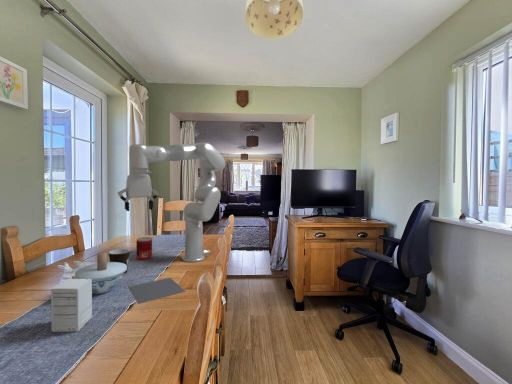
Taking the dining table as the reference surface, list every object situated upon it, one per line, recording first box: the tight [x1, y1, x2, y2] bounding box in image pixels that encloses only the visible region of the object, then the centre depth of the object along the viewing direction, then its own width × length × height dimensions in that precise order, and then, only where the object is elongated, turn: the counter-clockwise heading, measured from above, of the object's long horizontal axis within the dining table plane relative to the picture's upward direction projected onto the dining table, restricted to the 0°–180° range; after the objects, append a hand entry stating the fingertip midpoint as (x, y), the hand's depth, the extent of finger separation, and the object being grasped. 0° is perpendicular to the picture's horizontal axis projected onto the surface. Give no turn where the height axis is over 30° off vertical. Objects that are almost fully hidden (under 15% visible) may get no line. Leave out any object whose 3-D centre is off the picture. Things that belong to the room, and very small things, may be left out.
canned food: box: [135, 236, 153, 261], centre depth 139 cm, size 8×8×11 cm
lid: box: [74, 252, 128, 280], centre depth 96 cm, size 17×17×7 cm
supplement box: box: [50, 278, 93, 333], centre depth 74 cm, size 7×7×13 cm
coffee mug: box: [108, 248, 131, 275], centre depth 118 cm, size 12×9×10 cm
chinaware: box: [92, 273, 124, 295], centre depth 97 cm, size 15×15×8 cm
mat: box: [128, 277, 187, 304], centre depth 99 cm, size 17×17×1 cm
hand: (139, 210), depth 114 cm, fingers open, 9 cm apart
